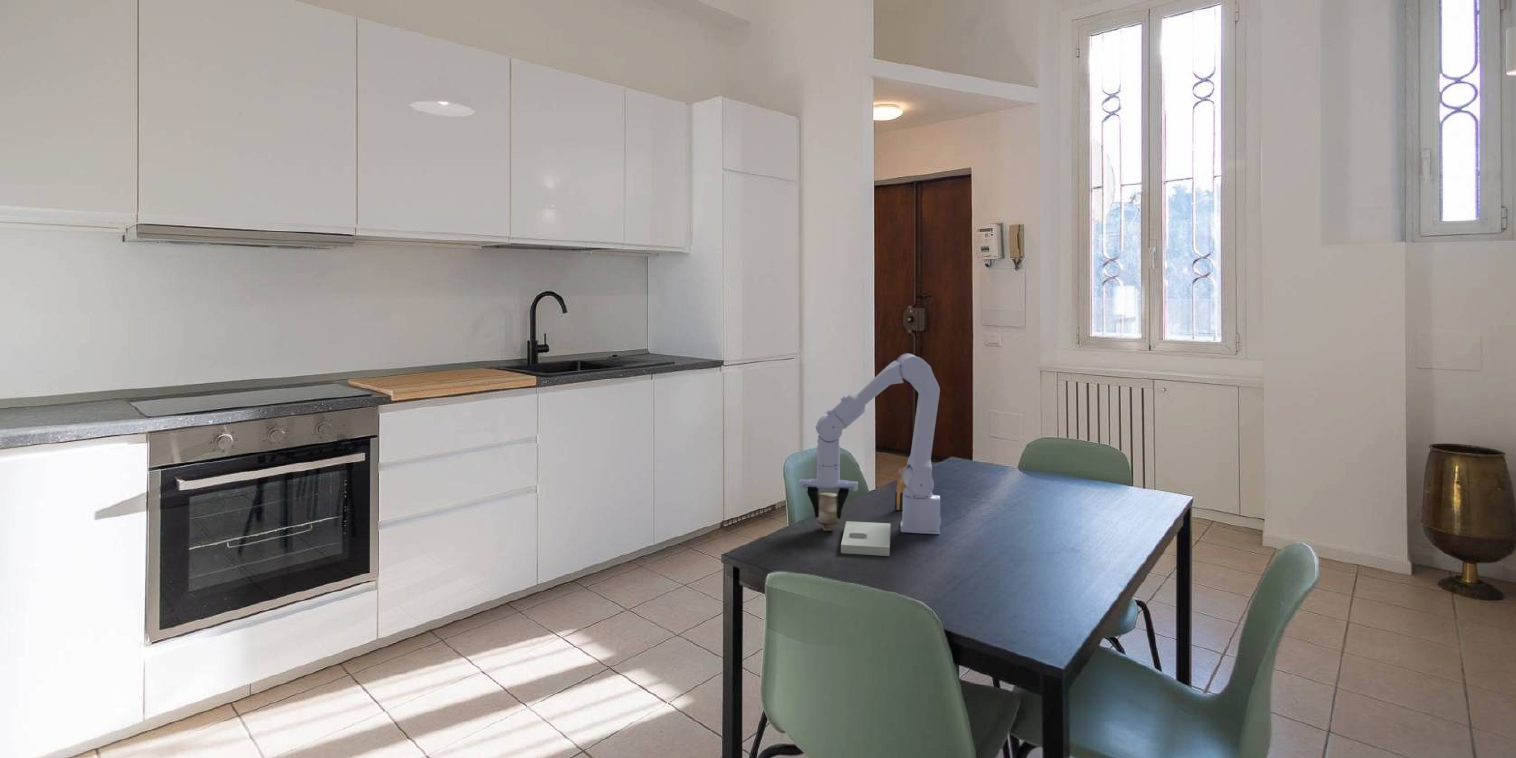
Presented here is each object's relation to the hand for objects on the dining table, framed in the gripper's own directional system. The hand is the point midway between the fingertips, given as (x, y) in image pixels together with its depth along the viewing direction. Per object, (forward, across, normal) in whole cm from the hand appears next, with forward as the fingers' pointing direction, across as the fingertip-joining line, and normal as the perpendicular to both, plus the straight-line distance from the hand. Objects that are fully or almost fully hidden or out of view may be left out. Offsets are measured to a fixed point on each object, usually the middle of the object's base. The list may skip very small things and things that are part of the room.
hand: (828, 516), depth 190 cm
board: (+3, -10, +8) cm, 13 cm away
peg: (+3, 0, 0) cm, 3 cm away
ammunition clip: (+3, -20, -24) cm, 31 cm away
